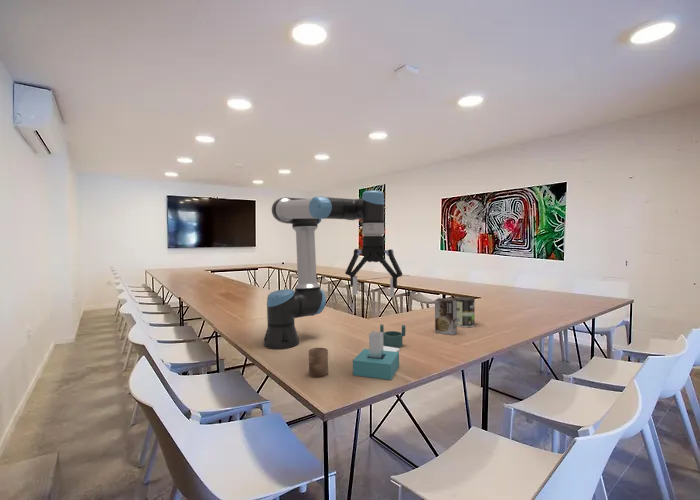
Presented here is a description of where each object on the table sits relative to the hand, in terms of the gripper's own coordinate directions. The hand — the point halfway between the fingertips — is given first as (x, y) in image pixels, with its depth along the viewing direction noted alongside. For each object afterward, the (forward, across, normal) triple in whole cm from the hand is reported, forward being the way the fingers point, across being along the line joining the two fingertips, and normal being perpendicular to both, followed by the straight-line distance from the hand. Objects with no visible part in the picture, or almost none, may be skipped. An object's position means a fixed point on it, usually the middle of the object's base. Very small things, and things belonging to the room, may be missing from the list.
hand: (373, 295), depth 122 cm
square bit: (+24, +2, -3) cm, 25 cm away
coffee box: (+26, +20, +54) cm, 64 cm away
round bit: (+26, -16, -12) cm, 33 cm away
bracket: (+26, +1, +27) cm, 38 cm away
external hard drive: (+26, 0, +15) cm, 30 cm away
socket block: (+25, +2, -3) cm, 26 cm away
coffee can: (+26, +28, +72) cm, 82 cm away
